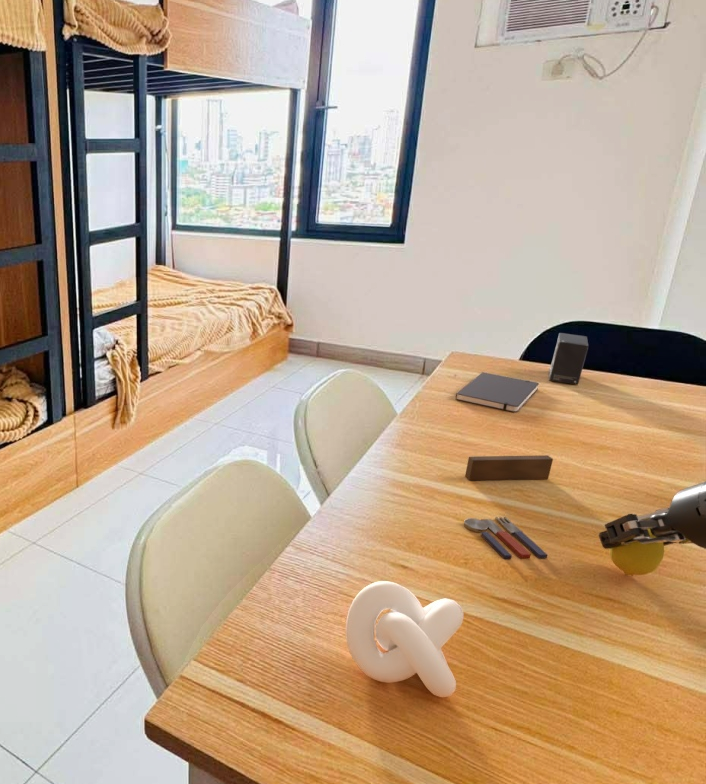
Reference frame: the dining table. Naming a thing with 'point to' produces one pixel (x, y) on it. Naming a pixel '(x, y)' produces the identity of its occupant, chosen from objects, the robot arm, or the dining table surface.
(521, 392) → the notebook
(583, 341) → the small box
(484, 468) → the back rail
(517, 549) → the cutlery
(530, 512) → the dining table surface
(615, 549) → the lemon
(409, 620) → the white knot sculpture
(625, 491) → the dining table surface
